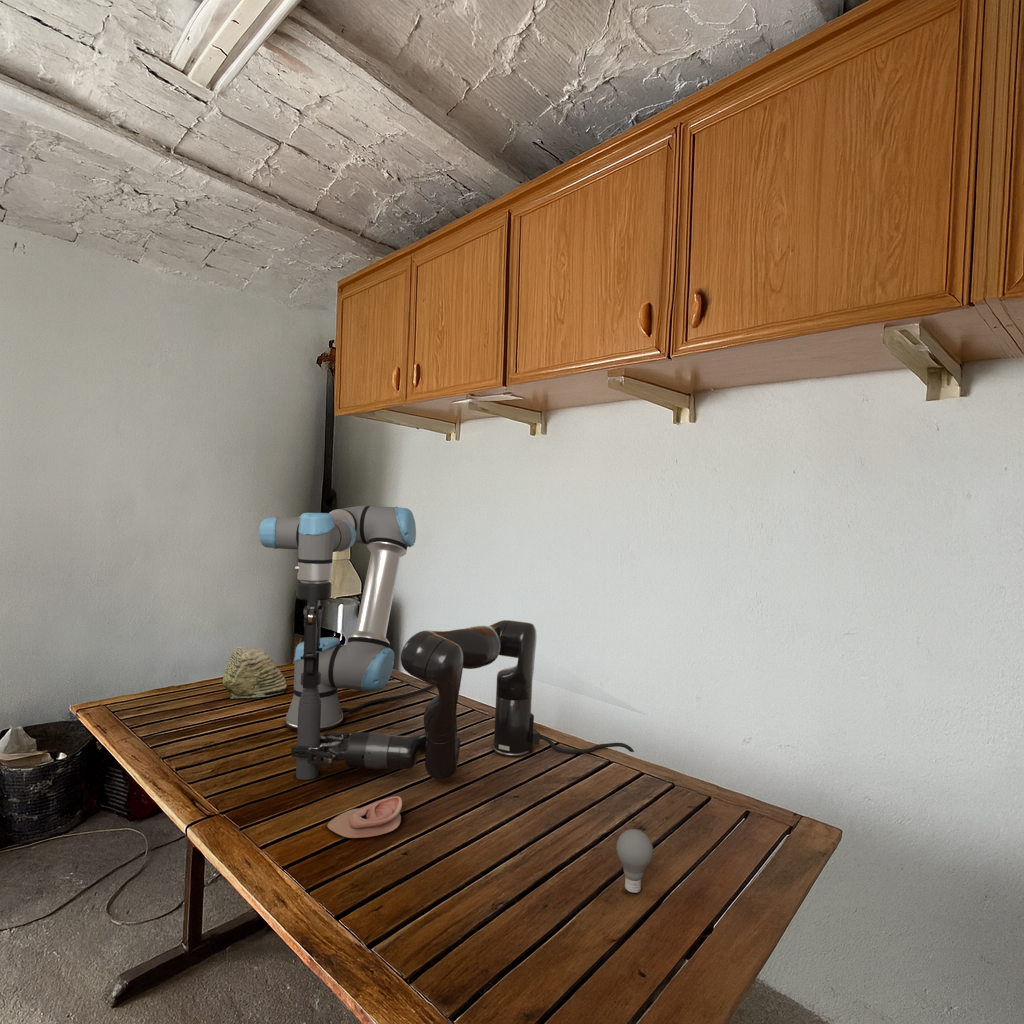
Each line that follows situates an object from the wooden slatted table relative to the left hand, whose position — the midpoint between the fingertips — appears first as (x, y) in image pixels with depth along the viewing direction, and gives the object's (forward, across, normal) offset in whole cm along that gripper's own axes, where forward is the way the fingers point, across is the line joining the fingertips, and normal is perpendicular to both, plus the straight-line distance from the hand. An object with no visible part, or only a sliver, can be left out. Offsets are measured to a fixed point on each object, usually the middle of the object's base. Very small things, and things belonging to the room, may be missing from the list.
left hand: (310, 683), depth 143 cm
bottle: (+21, 0, 0) cm, 21 cm away
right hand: (+14, -1, -2) cm, 15 cm away
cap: (-2, 0, 0) cm, 2 cm away
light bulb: (+21, +51, +58) cm, 80 cm away
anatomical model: (+21, +24, +13) cm, 34 cm away
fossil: (+21, -60, -22) cm, 68 cm away
